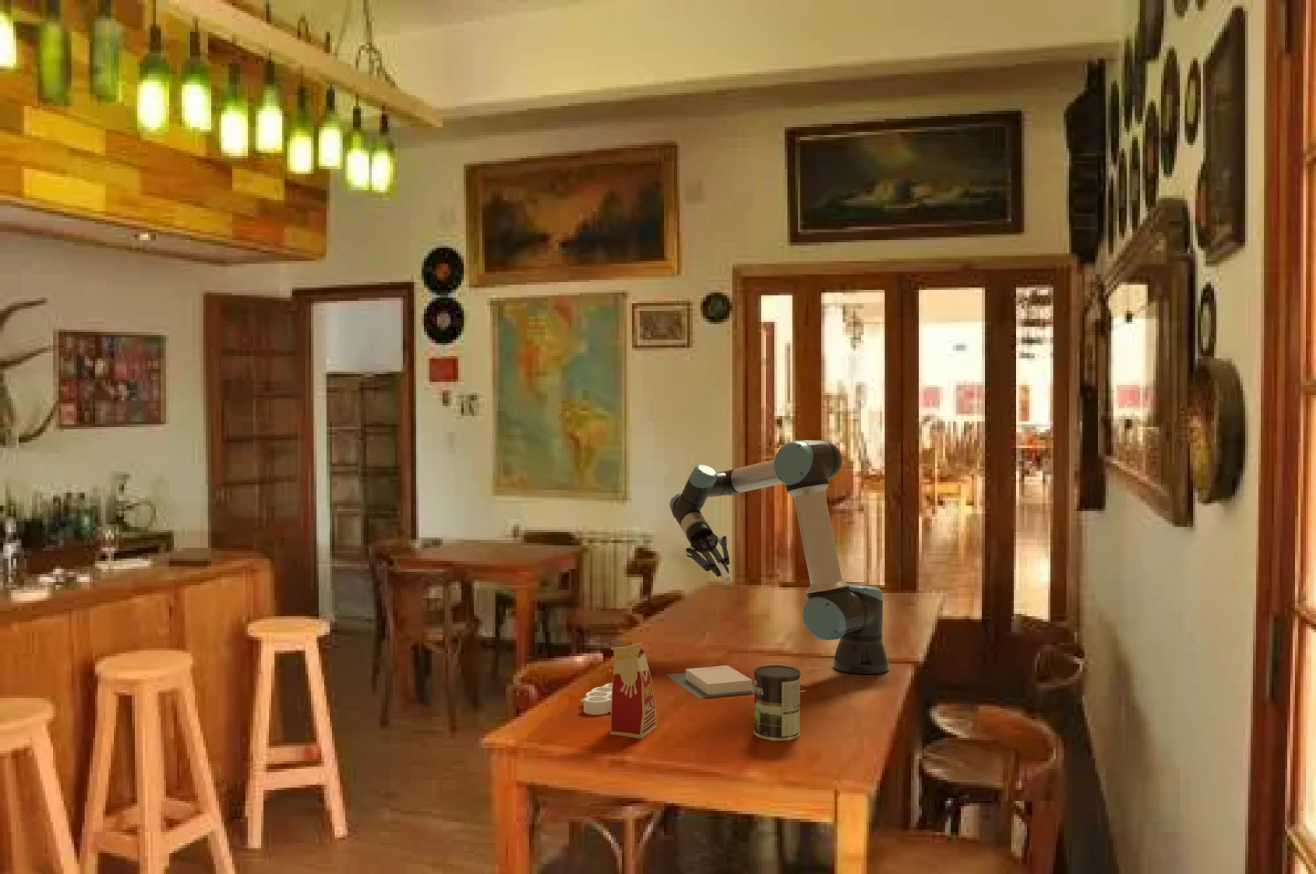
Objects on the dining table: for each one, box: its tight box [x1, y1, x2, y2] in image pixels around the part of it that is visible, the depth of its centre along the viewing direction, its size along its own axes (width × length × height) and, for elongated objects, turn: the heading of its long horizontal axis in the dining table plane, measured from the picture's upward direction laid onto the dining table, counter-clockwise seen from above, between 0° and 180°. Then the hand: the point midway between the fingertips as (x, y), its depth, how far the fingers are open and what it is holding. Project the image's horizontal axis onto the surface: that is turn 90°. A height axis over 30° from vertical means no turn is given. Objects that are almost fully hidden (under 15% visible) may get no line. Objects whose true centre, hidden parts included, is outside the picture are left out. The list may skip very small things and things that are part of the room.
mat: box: [666, 672, 755, 699], centre depth 268 cm, size 24×18×1 cm
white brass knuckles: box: [579, 682, 612, 716], centre depth 249 cm, size 3×18×15 cm
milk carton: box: [609, 642, 658, 739], centre depth 229 cm, size 9×9×20 cm
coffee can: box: [753, 664, 802, 742], centre depth 226 cm, size 10×10×14 cm
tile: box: [685, 665, 753, 697], centre depth 264 cm, size 3×12×16 cm
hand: (727, 580), depth 285 cm, fingers closed
